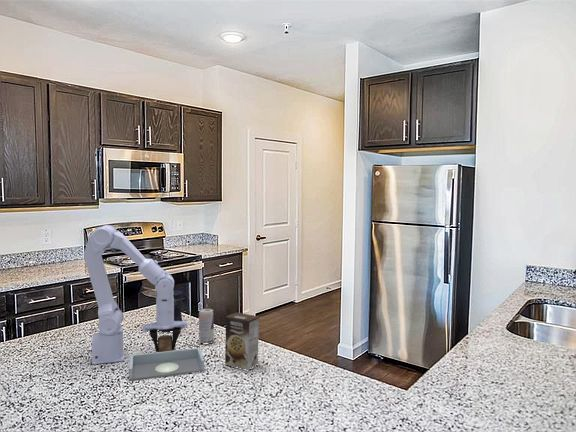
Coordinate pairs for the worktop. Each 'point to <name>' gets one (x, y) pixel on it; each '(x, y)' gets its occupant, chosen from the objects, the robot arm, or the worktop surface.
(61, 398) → the worktop surface
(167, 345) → the brown cylinder
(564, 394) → the worktop surface
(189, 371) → the grey tray
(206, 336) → the energy drink
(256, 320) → the coffee box
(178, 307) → the storage jar
